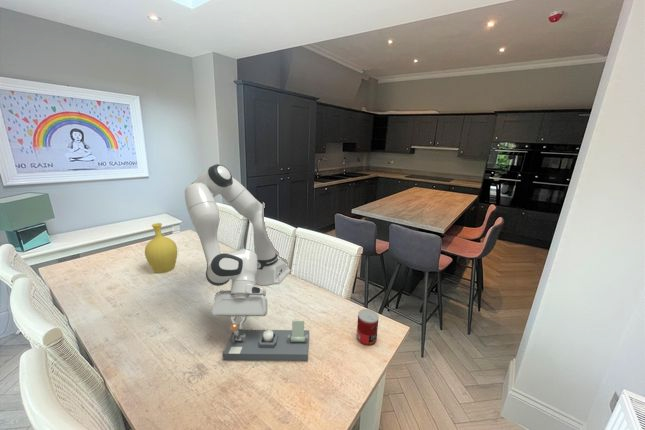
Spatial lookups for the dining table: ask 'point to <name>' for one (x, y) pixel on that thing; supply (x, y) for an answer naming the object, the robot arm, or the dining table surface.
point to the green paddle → (297, 331)
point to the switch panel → (266, 347)
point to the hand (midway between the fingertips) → (237, 329)
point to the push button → (268, 335)
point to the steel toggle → (236, 332)
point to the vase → (161, 252)
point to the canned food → (367, 326)
